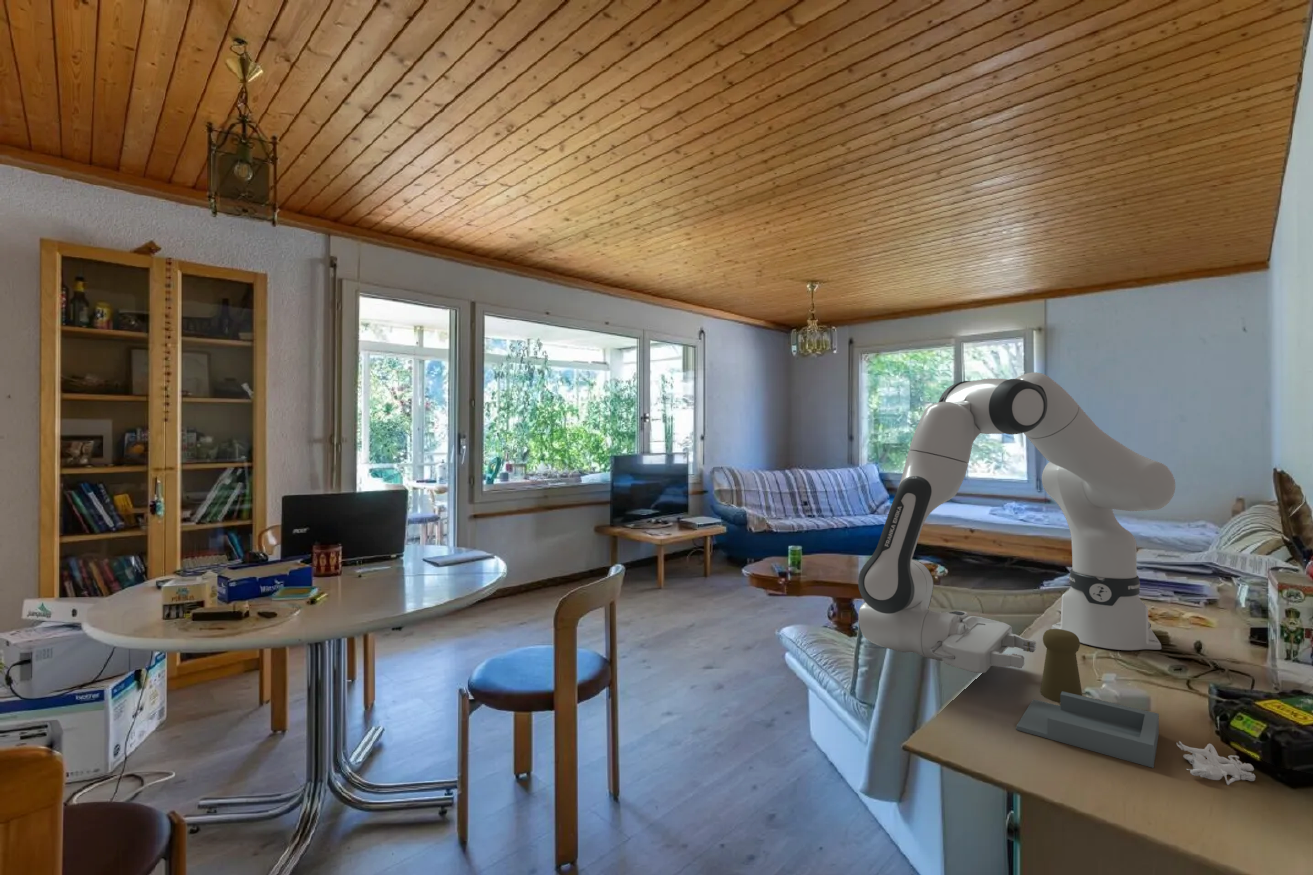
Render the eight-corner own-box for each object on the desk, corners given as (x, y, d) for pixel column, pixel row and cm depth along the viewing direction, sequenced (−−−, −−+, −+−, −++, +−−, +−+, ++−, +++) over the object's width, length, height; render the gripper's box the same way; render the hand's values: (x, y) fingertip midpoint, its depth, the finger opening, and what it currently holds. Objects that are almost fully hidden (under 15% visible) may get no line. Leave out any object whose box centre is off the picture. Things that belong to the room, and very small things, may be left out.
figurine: (1249, 772, 81) (1267, 799, 75) (1174, 754, 86) (1183, 778, 79) (1250, 749, 81) (1267, 774, 75) (1174, 732, 86) (1184, 754, 79)
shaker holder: (1033, 702, 101) (1033, 684, 101) (1158, 733, 90) (1158, 713, 90) (1016, 729, 92) (1016, 709, 92) (1153, 767, 81) (1153, 745, 81)
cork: (1090, 705, 100) (1090, 637, 100) (1049, 702, 101) (1048, 635, 101) (1072, 689, 106) (1072, 626, 106) (1034, 687, 107) (1034, 624, 107)
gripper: (926, 634, 108) (1015, 653, 99) (961, 608, 123) (1041, 622, 114) (926, 670, 108) (1015, 692, 99) (961, 639, 123) (1041, 655, 114)
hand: (1029, 654), depth 107 cm, fingers open, 8 cm apart
